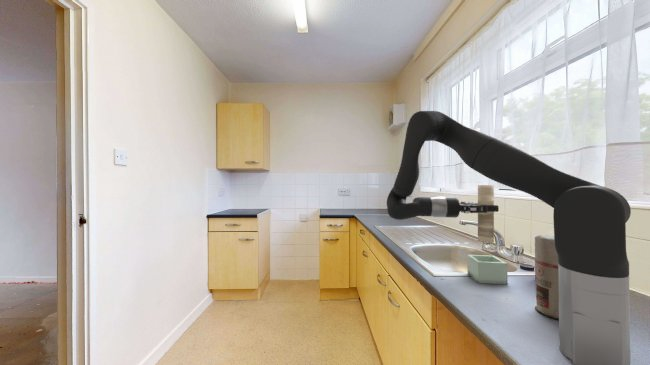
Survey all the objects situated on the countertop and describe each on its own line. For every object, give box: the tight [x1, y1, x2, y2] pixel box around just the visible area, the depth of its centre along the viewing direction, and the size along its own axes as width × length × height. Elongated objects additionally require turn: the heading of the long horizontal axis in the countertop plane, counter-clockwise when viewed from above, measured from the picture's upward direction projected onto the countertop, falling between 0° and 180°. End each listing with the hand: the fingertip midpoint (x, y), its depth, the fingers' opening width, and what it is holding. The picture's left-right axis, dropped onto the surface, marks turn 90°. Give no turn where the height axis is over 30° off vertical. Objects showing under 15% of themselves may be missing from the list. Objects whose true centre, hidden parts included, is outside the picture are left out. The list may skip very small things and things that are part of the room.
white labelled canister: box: [534, 234, 559, 320], centre depth 64 cm, size 8×8×20 cm
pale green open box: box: [467, 254, 509, 285], centre depth 88 cm, size 9×9×7 cm
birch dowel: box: [477, 184, 495, 244], centre depth 88 cm, size 5×5×20 cm
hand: (493, 207), depth 87 cm, fingers closed on birch dowel, 4 cm apart
